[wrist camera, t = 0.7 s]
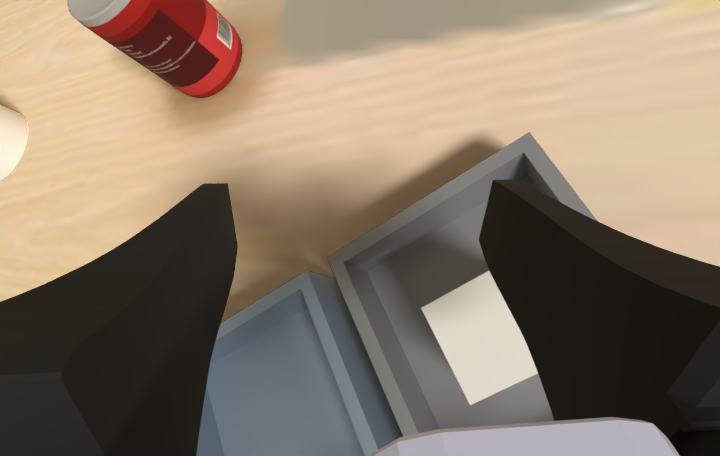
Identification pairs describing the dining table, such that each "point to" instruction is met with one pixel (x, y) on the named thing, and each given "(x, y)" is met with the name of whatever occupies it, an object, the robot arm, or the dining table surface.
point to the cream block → (480, 338)
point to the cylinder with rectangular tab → (11, 139)
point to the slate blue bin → (294, 379)
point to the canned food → (168, 39)
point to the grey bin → (438, 293)
